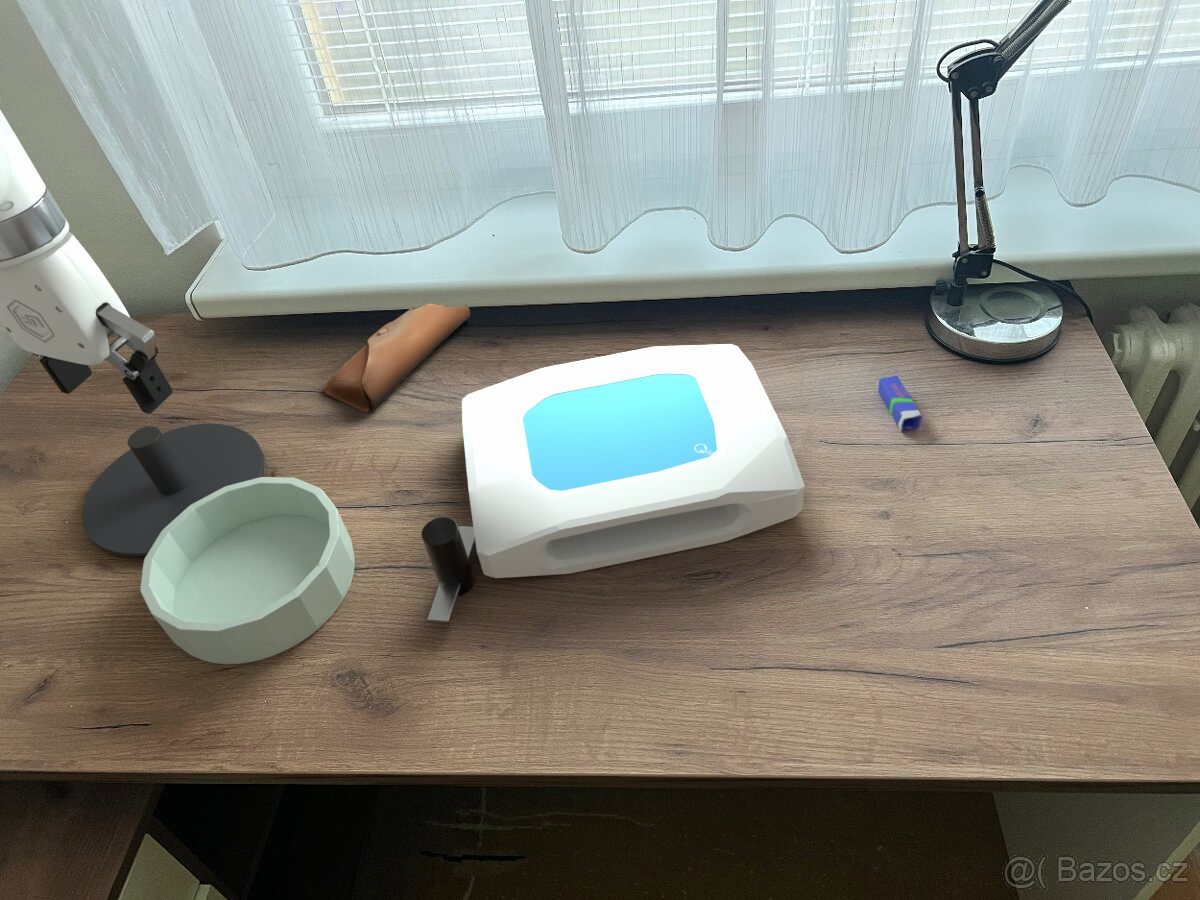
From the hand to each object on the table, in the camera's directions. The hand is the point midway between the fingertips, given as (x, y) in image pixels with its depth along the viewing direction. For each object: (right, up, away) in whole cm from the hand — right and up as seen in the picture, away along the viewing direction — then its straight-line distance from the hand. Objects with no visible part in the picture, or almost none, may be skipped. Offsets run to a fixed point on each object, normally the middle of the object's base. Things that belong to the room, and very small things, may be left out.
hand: (118, 393), depth 79 cm
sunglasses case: (+21, +5, +21) cm, 30 cm away
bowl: (+13, -17, -1) cm, 22 cm away
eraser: (+73, -1, +7) cm, 73 cm away
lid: (+1, -9, +9) cm, 12 cm away
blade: (+31, -17, -3) cm, 35 cm away
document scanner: (+46, -8, +5) cm, 47 cm away
